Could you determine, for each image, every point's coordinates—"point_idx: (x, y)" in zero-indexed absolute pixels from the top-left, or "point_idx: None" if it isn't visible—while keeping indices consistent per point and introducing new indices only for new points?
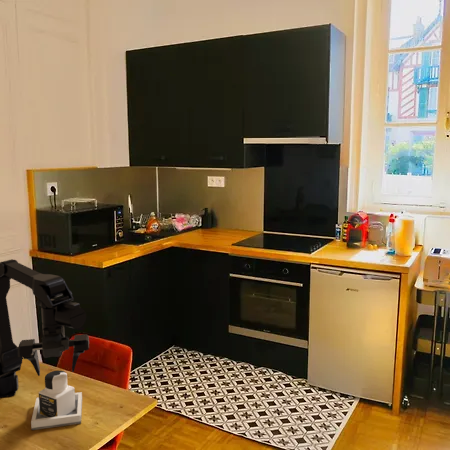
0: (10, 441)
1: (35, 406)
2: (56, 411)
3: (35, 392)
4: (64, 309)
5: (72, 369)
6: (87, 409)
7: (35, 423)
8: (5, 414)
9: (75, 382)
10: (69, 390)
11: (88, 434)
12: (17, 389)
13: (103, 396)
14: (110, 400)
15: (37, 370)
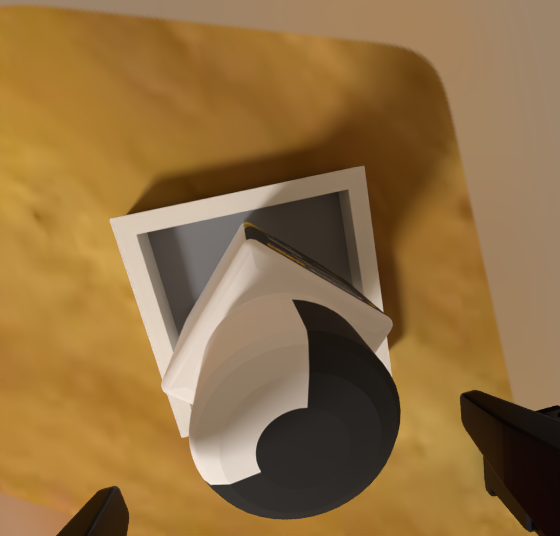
0: (419, 81)
1: (378, 307)
2: (248, 227)
3: (407, 452)
4: None
5: (95, 514)
6: (134, 334)
7: (340, 170)
8: (487, 295)
9: (261, 532)
10: (183, 348)
11: (49, 112)
12: (484, 459)
13: (92, 439)
14: (43, 409)
15: (535, 426)
